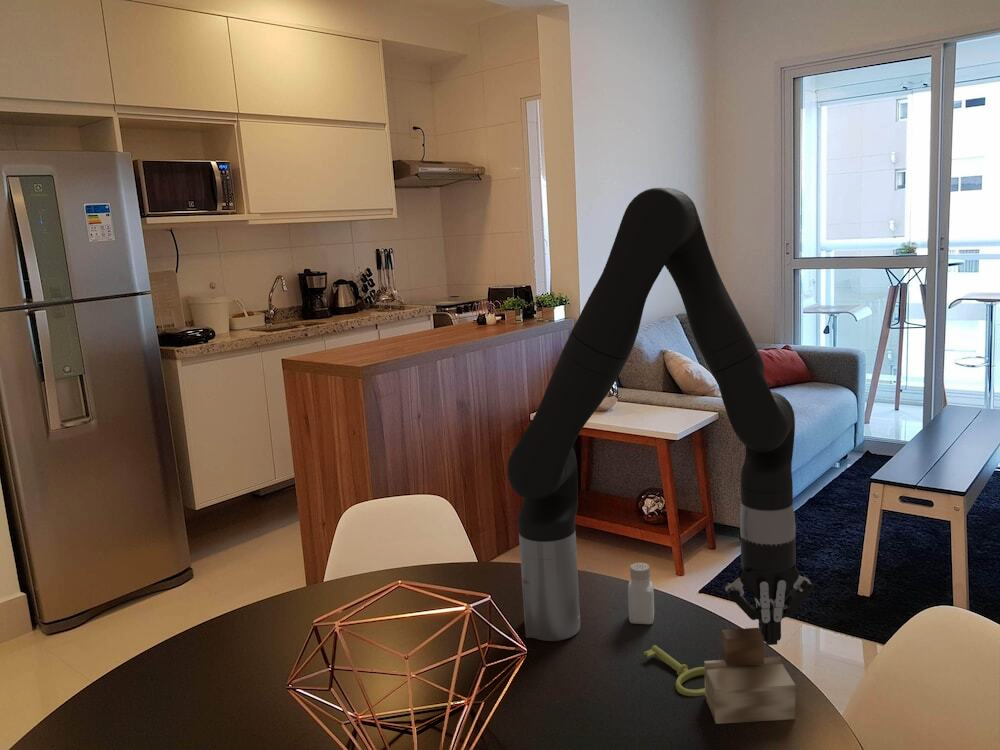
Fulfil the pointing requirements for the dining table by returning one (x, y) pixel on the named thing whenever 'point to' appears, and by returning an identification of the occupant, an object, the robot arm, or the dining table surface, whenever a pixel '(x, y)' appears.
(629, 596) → the salt shaker
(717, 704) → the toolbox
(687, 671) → the key
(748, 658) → the stacked wooden blocks
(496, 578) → the dining table surface
